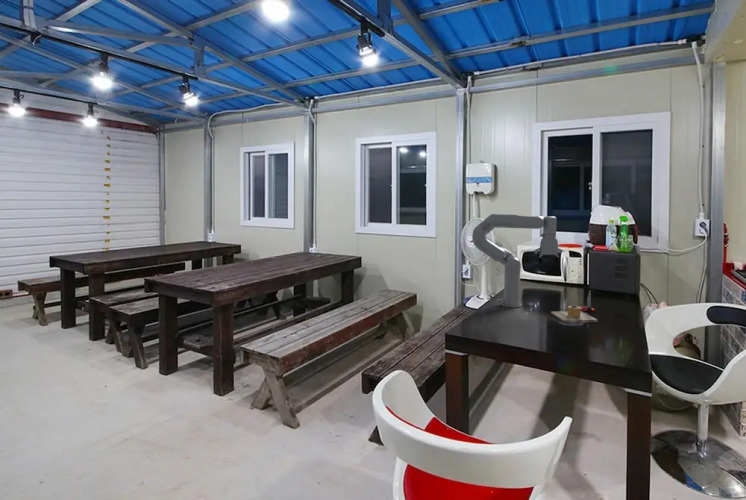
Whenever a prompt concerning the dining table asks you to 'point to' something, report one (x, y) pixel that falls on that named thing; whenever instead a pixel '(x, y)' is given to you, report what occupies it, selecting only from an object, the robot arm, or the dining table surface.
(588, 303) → the tow hook
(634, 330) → the dining table surface
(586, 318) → the post base
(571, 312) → the collar
